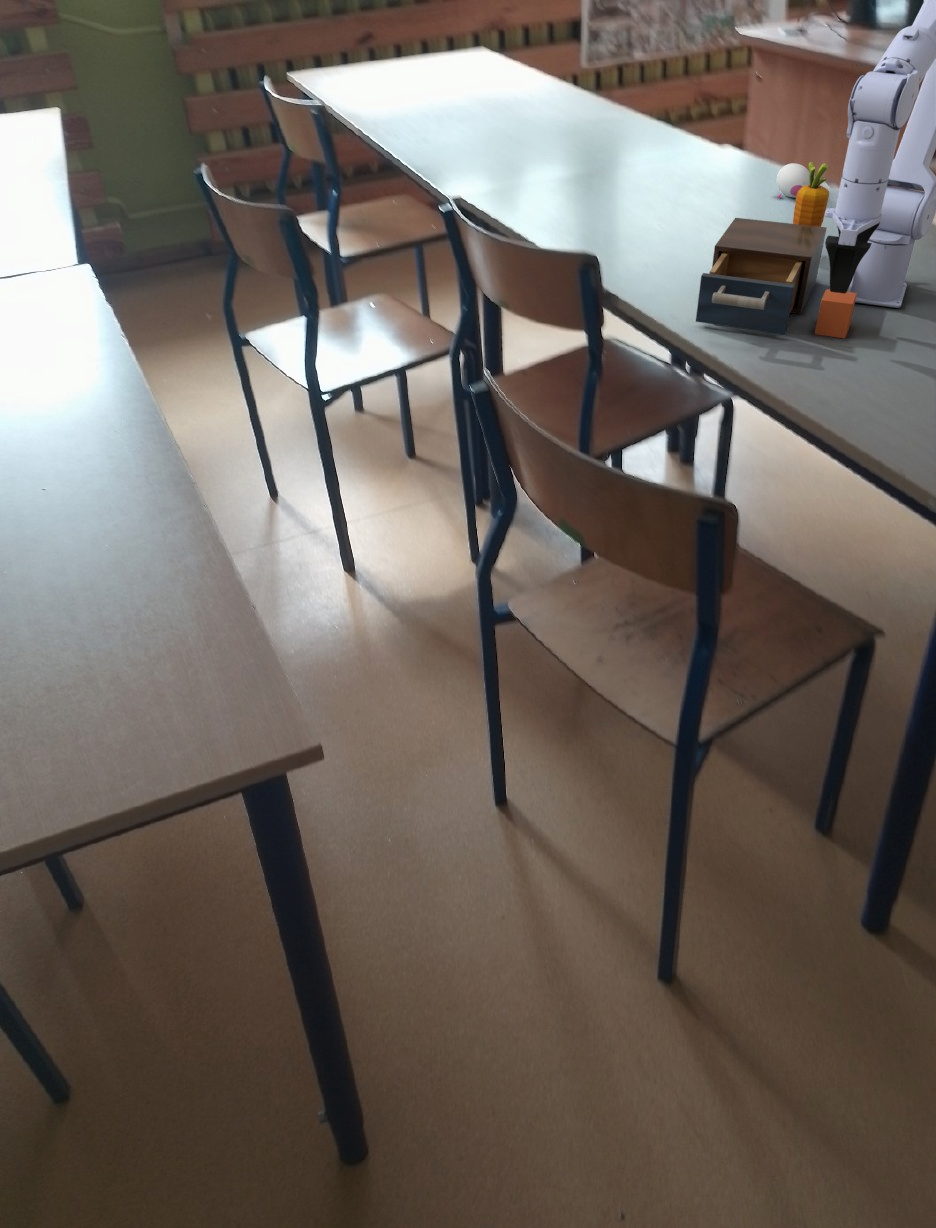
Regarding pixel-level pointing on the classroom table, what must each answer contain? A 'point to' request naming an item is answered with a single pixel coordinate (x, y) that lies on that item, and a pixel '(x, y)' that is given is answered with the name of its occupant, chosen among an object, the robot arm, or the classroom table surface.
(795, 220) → the carrot
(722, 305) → the drawer
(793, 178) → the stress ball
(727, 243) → the cabinet
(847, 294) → the block
